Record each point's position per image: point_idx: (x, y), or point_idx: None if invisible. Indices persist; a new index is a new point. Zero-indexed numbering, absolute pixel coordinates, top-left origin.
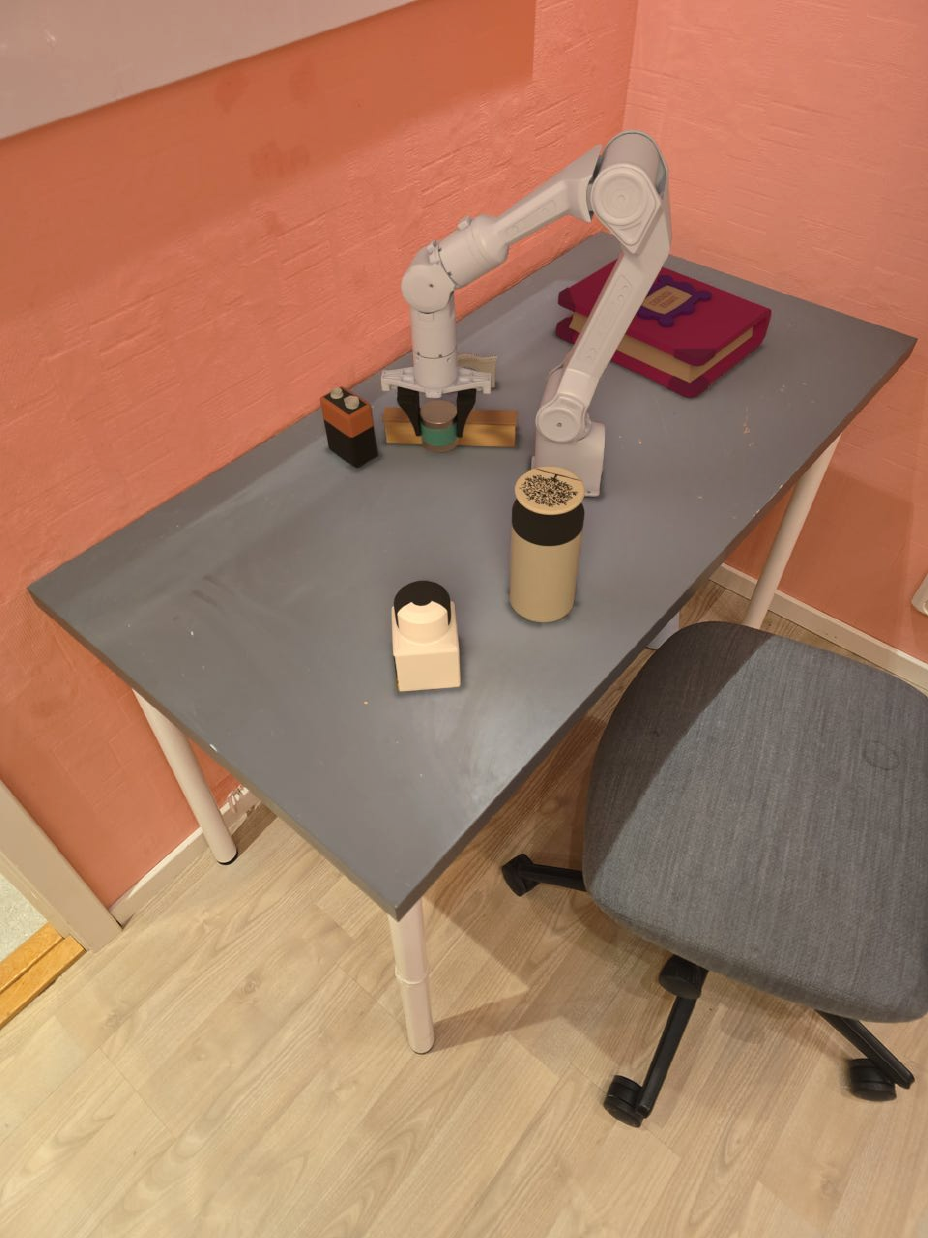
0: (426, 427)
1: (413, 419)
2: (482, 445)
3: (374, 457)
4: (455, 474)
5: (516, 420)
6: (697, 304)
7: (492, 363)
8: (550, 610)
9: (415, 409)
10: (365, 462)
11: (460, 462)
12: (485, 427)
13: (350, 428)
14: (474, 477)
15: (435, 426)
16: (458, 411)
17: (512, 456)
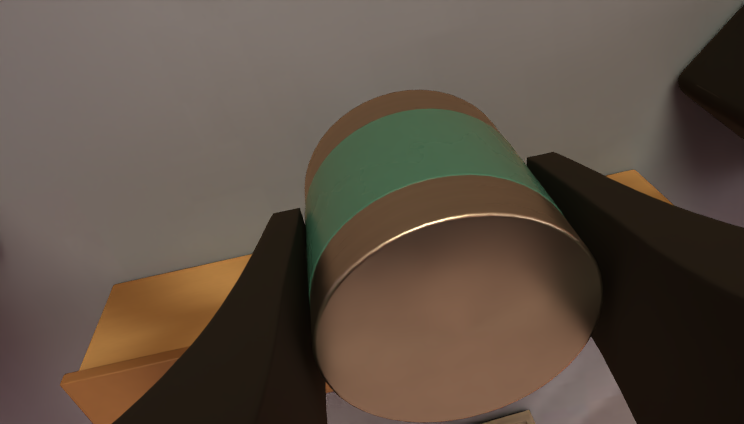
0: (518, 183)
1: (646, 212)
2: (244, 256)
3: (695, 59)
4: (291, 55)
5: (74, 398)
6: None
7: None
8: None
9: (706, 279)
10: (740, 12)
11: (298, 141)
12: None
13: None
14: (189, 58)
15: (449, 193)
16: (252, 372)
17: (91, 235)
